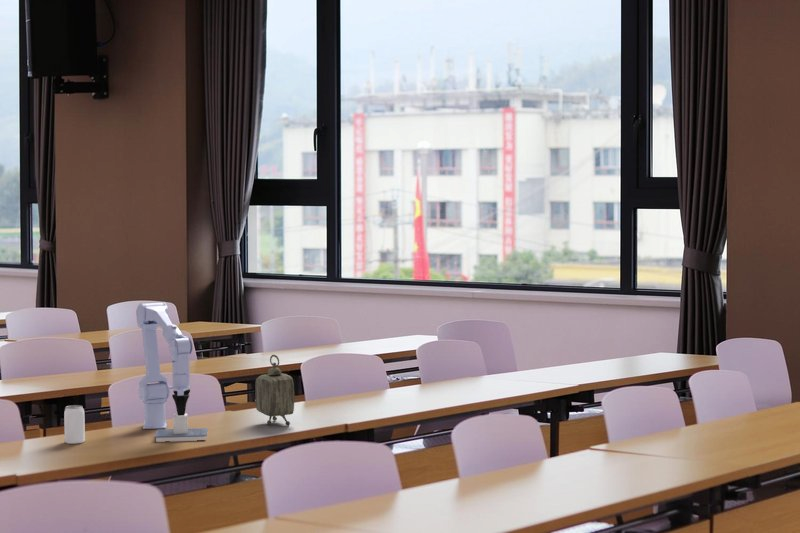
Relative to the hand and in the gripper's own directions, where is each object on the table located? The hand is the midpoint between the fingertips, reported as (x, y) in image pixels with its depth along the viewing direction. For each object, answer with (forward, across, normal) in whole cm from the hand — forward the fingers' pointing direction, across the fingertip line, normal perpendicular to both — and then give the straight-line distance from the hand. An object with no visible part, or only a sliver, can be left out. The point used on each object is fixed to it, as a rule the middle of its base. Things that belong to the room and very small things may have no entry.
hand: (181, 413), depth 397 cm
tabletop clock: (+9, -18, +32) cm, 38 cm away
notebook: (+9, 0, 0) cm, 9 cm away
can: (+9, +2, -35) cm, 36 cm away
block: (+6, 0, 0) cm, 7 cm away
